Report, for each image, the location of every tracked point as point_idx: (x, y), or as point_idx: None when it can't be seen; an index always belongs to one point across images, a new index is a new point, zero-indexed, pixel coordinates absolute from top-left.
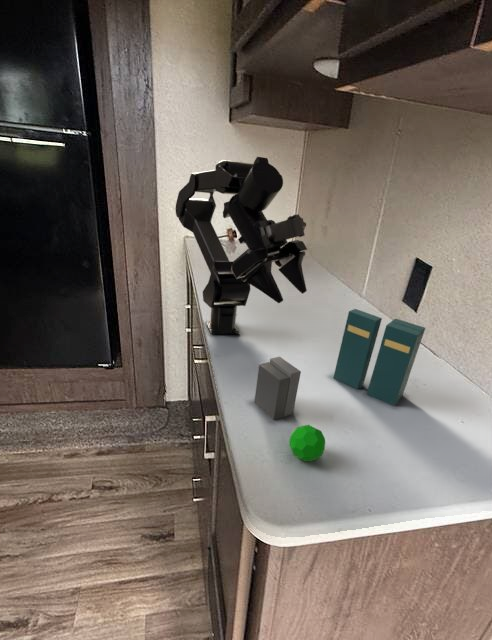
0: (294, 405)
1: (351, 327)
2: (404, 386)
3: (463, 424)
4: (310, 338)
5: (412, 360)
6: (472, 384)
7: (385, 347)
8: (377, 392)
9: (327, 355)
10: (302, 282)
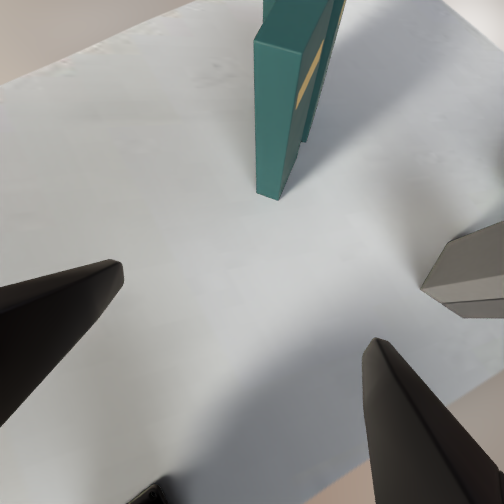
0: (461, 237)
1: (302, 89)
2: None
3: None
4: None
5: None
6: (177, 8)
7: (337, 27)
8: (312, 120)
9: (178, 227)
10: (76, 285)
